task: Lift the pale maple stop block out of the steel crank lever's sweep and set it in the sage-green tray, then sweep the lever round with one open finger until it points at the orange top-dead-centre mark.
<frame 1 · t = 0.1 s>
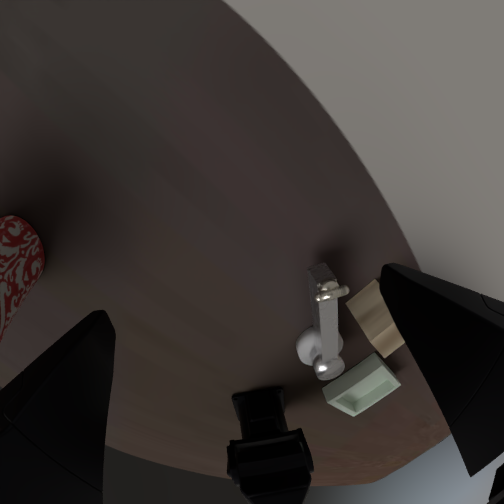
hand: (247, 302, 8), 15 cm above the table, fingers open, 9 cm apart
crank: (327, 332, 25), point 4 cm above the table, hinge at 105.0°
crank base: (317, 340, 30), on the table
stop block: (367, 301, 29), on the table
mug: (7, 238, 20), on the table
stop tray: (360, 381, 36), on the table
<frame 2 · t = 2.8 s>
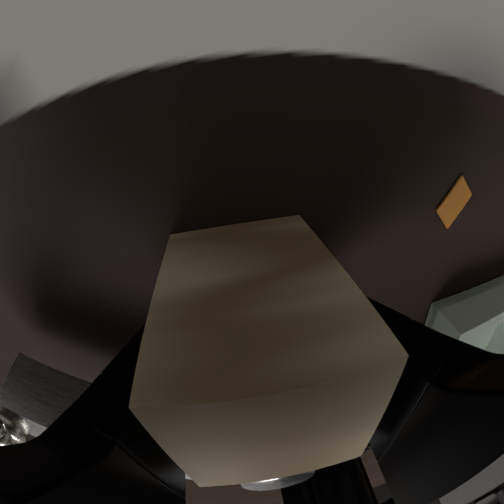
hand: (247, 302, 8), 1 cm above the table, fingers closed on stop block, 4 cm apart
crank: (155, 454, 8), point 4 cm above the table, hinge at 105.0°
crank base: (261, 398, 13), on the table
stop block: (242, 280, 10), on the table, touching gripper
stop tray: (460, 339, 14), on the table
when the fingers open (4 cm above the table, at t = 6.7 s): stop block drops 2 cm, resting on stop tray.
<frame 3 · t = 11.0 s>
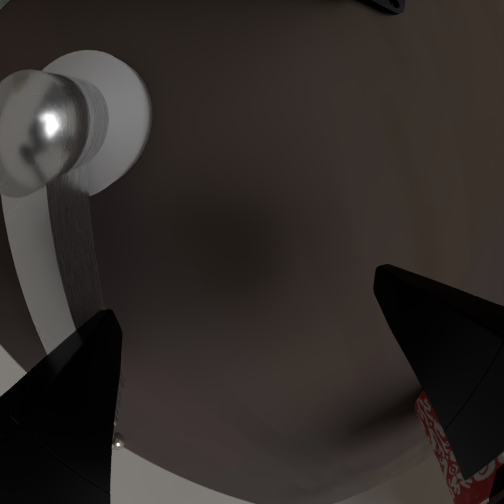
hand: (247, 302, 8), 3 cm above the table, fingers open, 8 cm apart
crank: (56, 300, 7), point 4 cm above the table, hinge at 105.0°, touching gripper
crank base: (88, 122, 8), on the table
mug: (441, 391, 22), on the table
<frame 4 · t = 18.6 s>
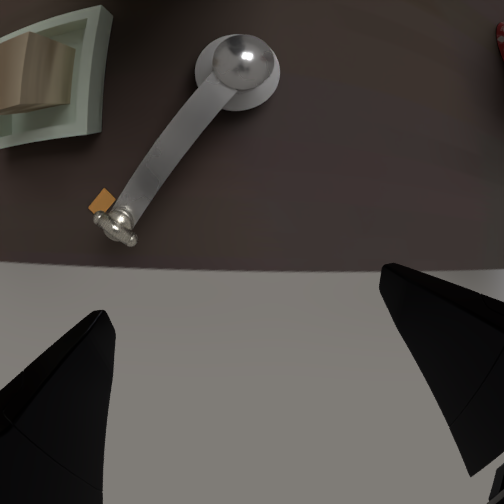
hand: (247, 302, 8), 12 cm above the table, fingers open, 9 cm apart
crank: (180, 135, 13), point 4 cm above the table, hinge at 9.9°
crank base: (235, 74, 16), on the table
stop block: (48, 80, 13), point 1 cm above the table, touching stop tray
stop tray: (52, 80, 13), on the table
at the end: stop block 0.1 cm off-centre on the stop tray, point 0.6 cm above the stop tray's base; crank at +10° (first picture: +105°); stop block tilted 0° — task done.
